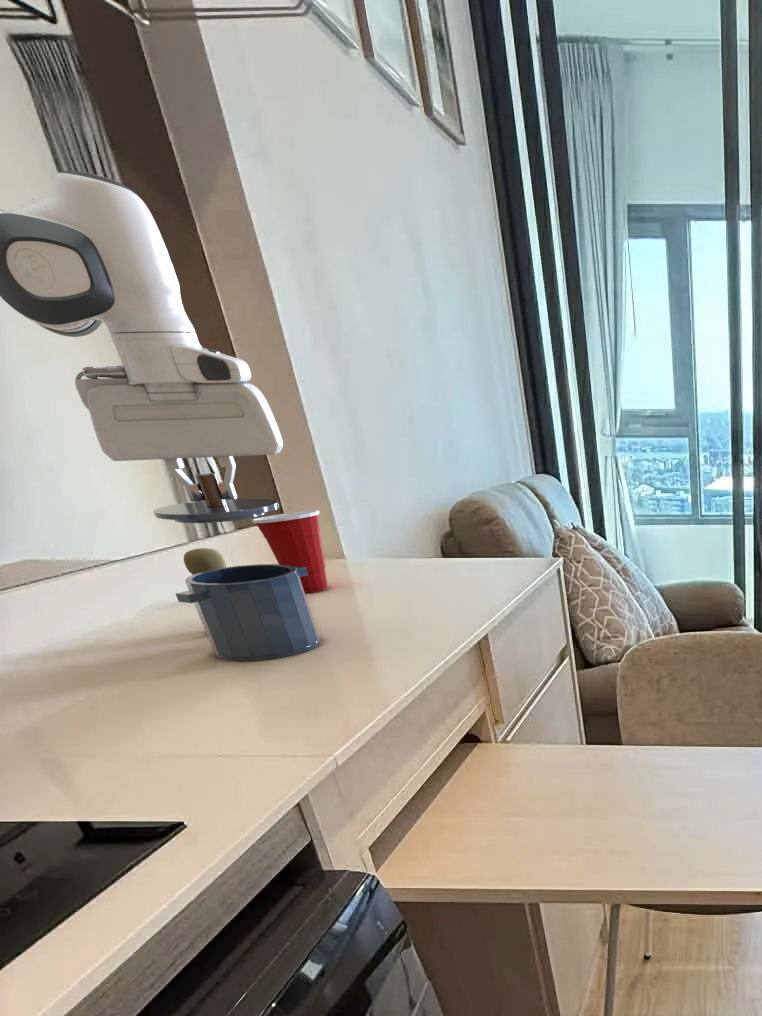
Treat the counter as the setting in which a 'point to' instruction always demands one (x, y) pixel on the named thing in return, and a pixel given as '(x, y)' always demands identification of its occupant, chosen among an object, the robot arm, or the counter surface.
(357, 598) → the counter surface
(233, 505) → the lid
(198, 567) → the cork
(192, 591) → the pot
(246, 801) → the counter surface
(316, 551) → the plastic cup
